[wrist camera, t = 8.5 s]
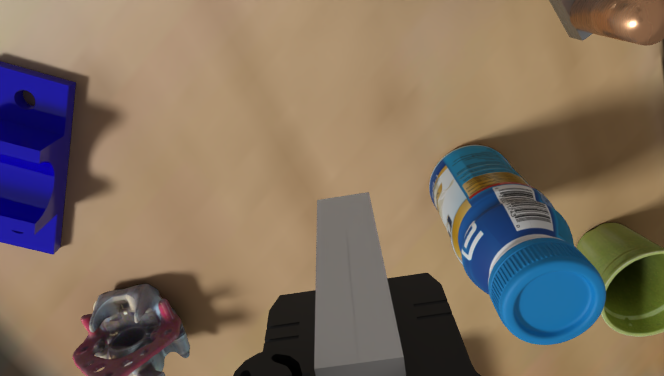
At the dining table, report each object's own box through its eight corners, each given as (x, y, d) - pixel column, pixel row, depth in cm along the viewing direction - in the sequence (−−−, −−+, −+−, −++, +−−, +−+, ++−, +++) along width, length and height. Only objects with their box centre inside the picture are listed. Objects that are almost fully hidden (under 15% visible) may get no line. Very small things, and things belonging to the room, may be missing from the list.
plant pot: (548, 279, 54) (586, 332, 46) (574, 203, 51) (621, 246, 43) (629, 287, 55) (681, 340, 47) (661, 211, 51) (723, 256, 43)
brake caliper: (161, 264, 50) (159, 390, 44) (204, 293, 59) (207, 400, 54) (56, 286, 51) (41, 413, 45) (116, 312, 60) (109, 419, 54)
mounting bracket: (-5, 58, 44) (-51, 70, 39) (78, 81, 45) (44, 96, 39) (-10, 228, 51) (-50, 259, 45) (62, 245, 52) (31, 277, 46)
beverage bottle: (528, 177, 49) (650, 299, 31) (466, 233, 52) (545, 377, 33) (471, 123, 47) (566, 222, 29) (409, 185, 49) (460, 312, 31)
